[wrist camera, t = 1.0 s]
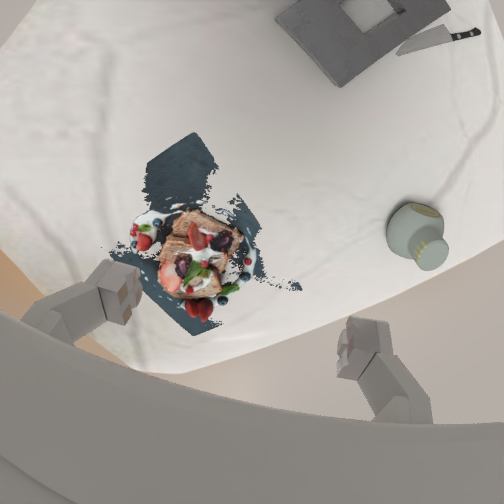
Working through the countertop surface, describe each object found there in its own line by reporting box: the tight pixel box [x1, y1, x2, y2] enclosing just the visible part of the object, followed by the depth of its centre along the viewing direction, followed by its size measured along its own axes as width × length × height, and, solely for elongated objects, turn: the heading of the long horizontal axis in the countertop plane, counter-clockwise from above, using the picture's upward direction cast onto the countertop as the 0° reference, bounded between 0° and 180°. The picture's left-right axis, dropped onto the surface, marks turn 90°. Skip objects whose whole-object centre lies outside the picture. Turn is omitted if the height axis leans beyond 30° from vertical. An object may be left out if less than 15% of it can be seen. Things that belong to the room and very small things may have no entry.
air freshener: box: [386, 203, 449, 271], centre depth 47 cm, size 11×8×10 cm
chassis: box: [275, 0, 451, 88], centre depth 30 cm, size 12×22×3 cm, turn 133°
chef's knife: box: [396, 24, 481, 56], centre depth 32 cm, size 19×1×3 cm
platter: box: [101, 132, 302, 336], centre depth 52 cm, size 35×27×9 cm
